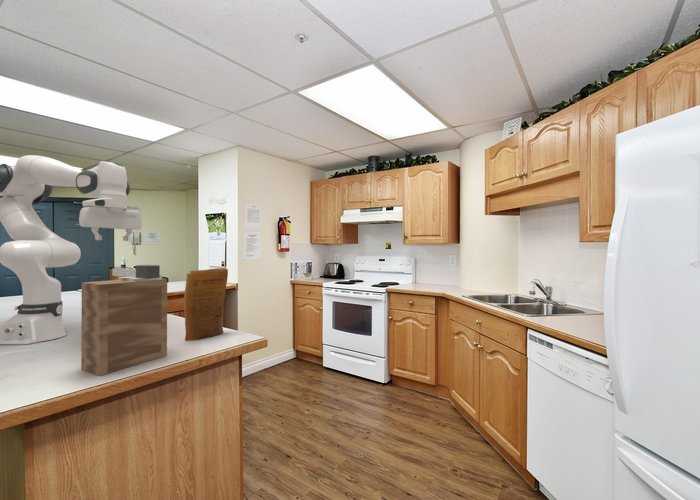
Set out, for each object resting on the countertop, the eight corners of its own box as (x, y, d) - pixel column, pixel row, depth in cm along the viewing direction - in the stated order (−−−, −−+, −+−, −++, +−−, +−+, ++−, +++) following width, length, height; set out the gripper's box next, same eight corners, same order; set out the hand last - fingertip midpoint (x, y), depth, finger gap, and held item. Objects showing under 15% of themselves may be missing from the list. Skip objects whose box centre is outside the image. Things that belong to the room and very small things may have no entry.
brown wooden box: (81, 369, 96) (81, 280, 96) (148, 350, 114) (149, 275, 114) (99, 376, 91) (99, 281, 91) (166, 355, 109) (167, 276, 109)
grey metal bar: (109, 275, 111) (109, 264, 111) (122, 274, 114) (122, 263, 114) (147, 278, 101) (147, 266, 101) (159, 277, 105) (159, 265, 105)
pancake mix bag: (231, 333, 138) (232, 268, 138) (186, 343, 123) (187, 270, 123) (223, 330, 142) (223, 267, 142) (178, 340, 127) (179, 269, 127)
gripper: (136, 207, 133) (136, 241, 133) (76, 201, 115) (76, 239, 115) (145, 207, 131) (145, 241, 131) (86, 200, 112) (85, 239, 112)
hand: (112, 240), depth 123 cm, fingers open, 8 cm apart
